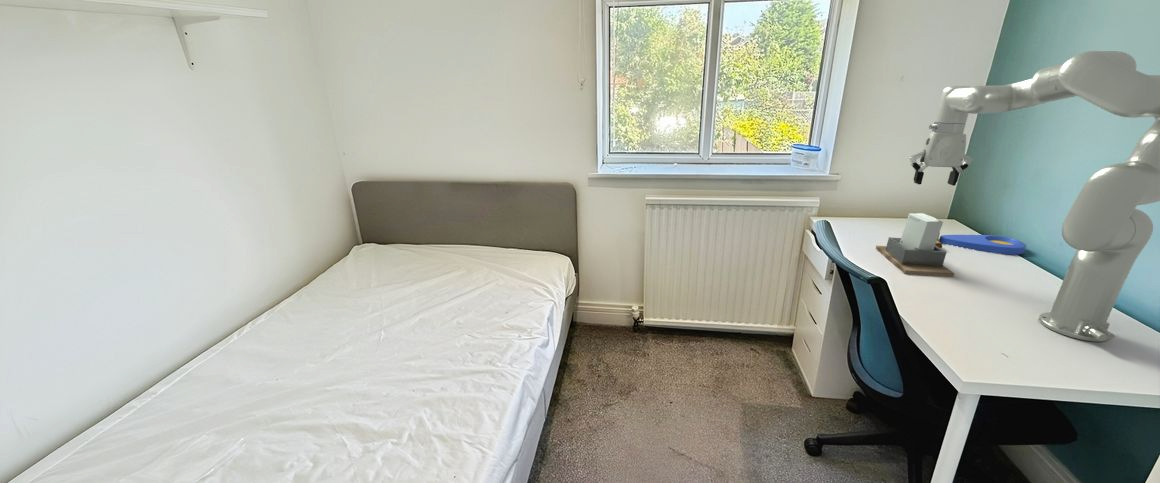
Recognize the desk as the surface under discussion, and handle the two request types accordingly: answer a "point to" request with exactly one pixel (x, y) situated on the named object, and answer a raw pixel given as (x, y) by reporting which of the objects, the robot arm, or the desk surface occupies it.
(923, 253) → the square box holder
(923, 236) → the skincare box
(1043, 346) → the desk surface
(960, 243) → the location marker
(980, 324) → the desk surface
